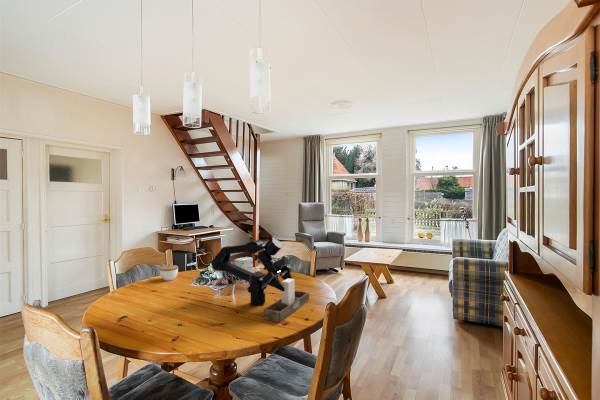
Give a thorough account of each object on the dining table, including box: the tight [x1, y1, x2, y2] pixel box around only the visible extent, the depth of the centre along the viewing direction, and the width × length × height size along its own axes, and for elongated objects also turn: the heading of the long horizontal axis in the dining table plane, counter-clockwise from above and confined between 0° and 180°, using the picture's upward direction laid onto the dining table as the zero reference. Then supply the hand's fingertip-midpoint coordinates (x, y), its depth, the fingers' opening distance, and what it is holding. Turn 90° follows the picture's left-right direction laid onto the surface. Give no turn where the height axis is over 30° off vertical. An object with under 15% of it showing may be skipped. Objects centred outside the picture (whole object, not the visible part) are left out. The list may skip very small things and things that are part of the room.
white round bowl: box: [159, 264, 179, 282], centre depth 189 cm, size 11×11×9 cm
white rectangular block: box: [281, 278, 296, 304], centre depth 139 cm, size 4×6×12 cm, turn 154°
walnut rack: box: [263, 290, 310, 323], centre depth 139 cm, size 8×29×4 cm, turn 154°
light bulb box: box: [234, 256, 254, 273], centre depth 201 cm, size 11×7×11 cm, turn 141°
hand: (288, 288), depth 138 cm, fingers open, 9 cm apart
